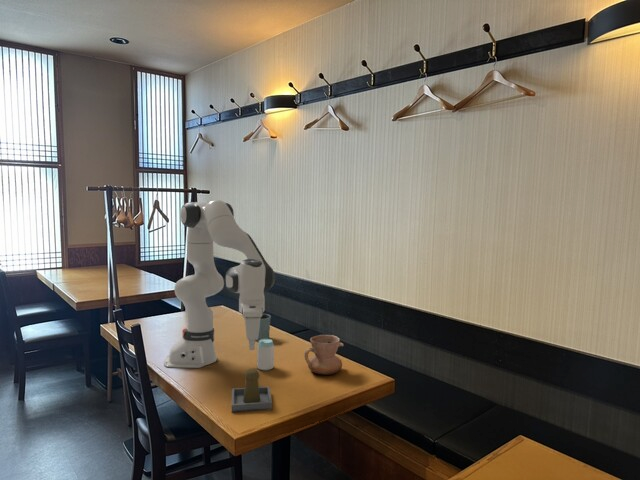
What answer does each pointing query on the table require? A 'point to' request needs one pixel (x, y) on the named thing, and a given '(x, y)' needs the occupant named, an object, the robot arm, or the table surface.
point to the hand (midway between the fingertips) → (251, 345)
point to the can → (265, 354)
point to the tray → (242, 407)
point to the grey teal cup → (264, 327)
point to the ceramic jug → (324, 355)
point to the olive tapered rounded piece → (251, 387)
